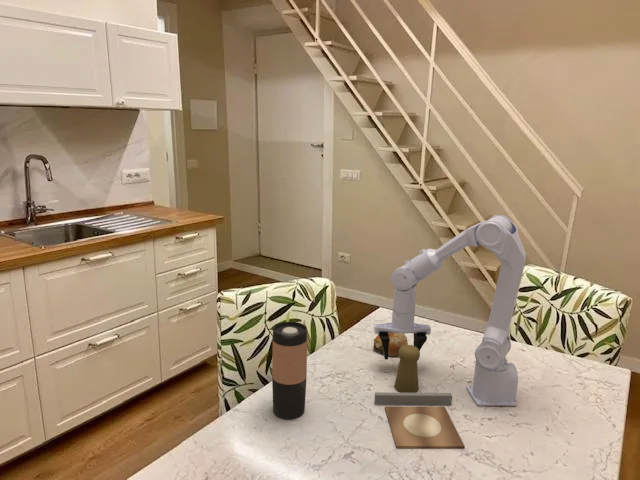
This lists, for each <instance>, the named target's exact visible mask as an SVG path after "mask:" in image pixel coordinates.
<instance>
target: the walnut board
mask: <svg viewBox="0 0 640 480" xmlns="http://www.w3.org/2000/svg"><path fill="white" fill-rule="evenodd" d="M384 411H385V414H386V418H387V421H388V425H389V429H390V431H391V436H392V439H393V442H394V446H395V449H465V447H466V446H465V444H464V441H463V440H462V438H461V436H460V434H459V432H458V430H457V428H456V426H455V424H454V423H453V420H452V419H451V416H450V414H449V412H448V411H447V408H446V406H402V405H384Z"/></svg>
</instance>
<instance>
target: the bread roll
mask: <svg viewBox="0 0 640 480" xmlns="http://www.w3.org/2000/svg"><path fill="white" fill-rule="evenodd" d="M388 335H389V339H390V341H389V347H388V357H393V358H394V357H399V355H398V351H399V349H400V347H401V346H404V345H409V343H408V339H407V338H408V337H407V336H406V334H403V333H388ZM373 349H374V350H375V351H376V352H377V353H378V354H381V355H383V356H384V350H383V345H382V342H381V339H380V337H379V334H377V335H376V336H375V338H373Z"/></svg>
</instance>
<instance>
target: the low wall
mask: <svg viewBox="0 0 640 480" xmlns="http://www.w3.org/2000/svg"><path fill="white" fill-rule="evenodd" d="M452 401H453V394H452V393H451V392H417V393H400V392H387V391H386V392H381V391H380V392H378V391H377V392H374V406H375V405H376V406H452Z"/></svg>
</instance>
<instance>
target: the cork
mask: <svg viewBox="0 0 640 480" xmlns="http://www.w3.org/2000/svg"><path fill="white" fill-rule="evenodd" d="M398 355H399V356H398V358H399V363H398V368H397V372H396V377H395V380H394V381H395V382H394V389H395V391H397V393H419V390H420V389H419V388H420V386H419V372H418V361H419V360H420V356H421V351H419V349H418V348H417V347H415V346H413V344H408V345H404V346H401V347H400V349H399V351H398Z"/></svg>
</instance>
